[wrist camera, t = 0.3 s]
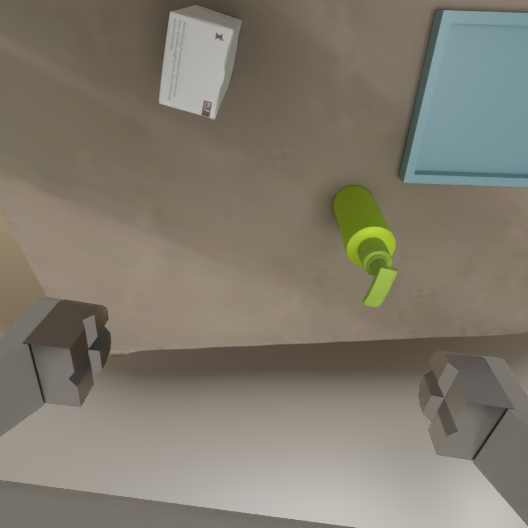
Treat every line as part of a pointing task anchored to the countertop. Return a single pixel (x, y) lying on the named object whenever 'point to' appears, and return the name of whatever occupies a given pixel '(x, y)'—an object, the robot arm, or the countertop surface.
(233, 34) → the skincare box
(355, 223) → the soap dispenser
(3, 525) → the robot arm
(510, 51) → the tray
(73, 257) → the countertop surface
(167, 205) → the countertop surface
